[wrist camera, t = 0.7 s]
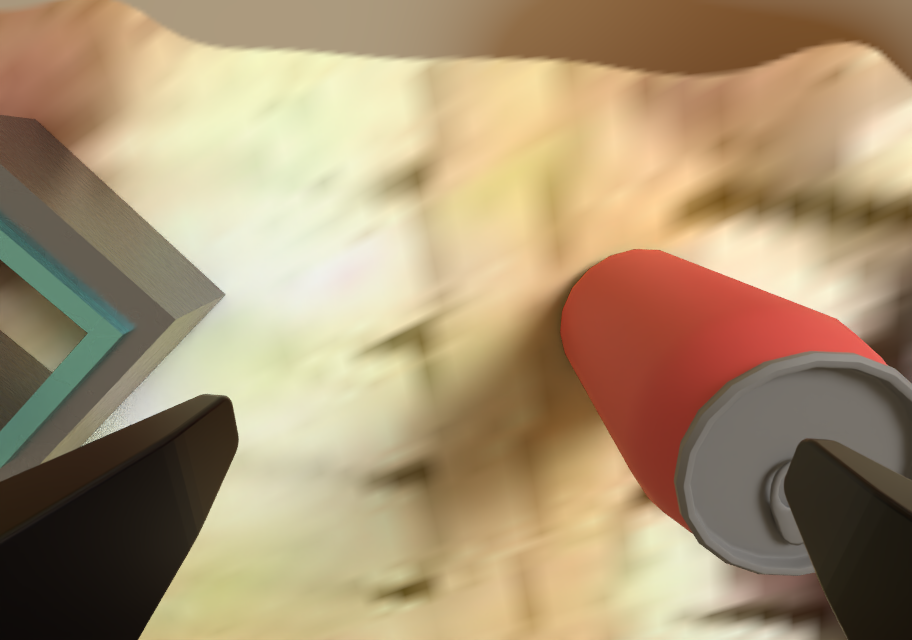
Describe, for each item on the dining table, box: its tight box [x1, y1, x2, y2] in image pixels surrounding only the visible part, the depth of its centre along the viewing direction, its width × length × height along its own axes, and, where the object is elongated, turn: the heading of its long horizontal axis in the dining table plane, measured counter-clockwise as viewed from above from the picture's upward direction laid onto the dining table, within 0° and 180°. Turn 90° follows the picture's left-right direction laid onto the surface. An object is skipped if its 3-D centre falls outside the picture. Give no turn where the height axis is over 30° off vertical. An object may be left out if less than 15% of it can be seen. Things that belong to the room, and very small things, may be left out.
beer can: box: [560, 249, 912, 576], centre depth 17 cm, size 7×7×12 cm
